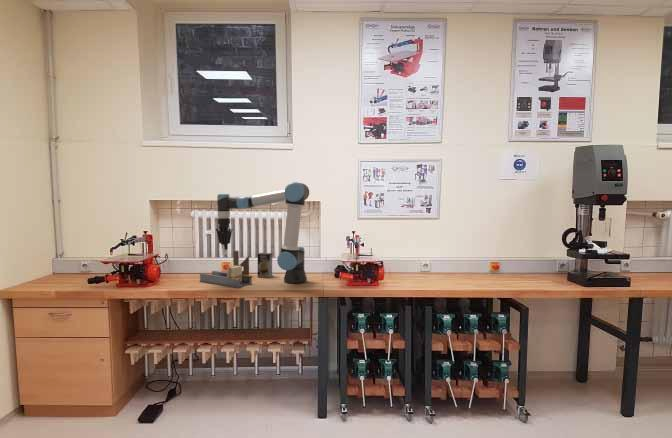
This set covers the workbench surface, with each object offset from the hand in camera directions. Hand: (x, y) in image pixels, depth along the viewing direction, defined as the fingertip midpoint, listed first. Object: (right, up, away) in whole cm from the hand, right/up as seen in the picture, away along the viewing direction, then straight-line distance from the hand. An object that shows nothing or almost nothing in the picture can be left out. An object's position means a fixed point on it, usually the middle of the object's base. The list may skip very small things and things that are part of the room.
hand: (224, 254), depth 236 cm
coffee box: (+22, -18, +22) cm, 35 cm away
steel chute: (0, -18, +1) cm, 18 cm away
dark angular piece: (+5, -18, +21) cm, 28 cm away
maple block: (+7, -17, -4) cm, 19 cm away
